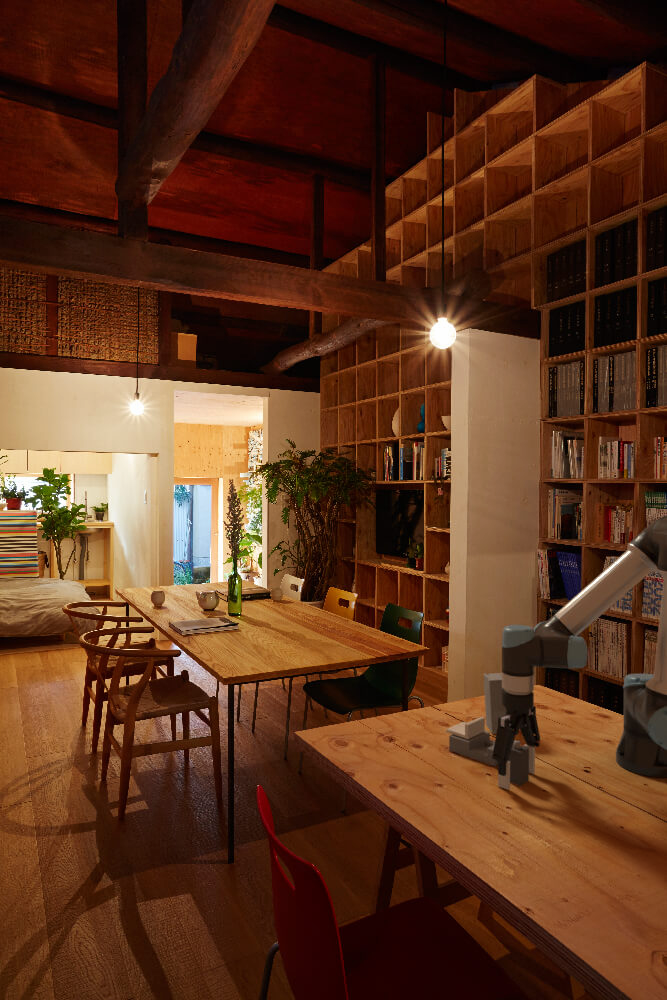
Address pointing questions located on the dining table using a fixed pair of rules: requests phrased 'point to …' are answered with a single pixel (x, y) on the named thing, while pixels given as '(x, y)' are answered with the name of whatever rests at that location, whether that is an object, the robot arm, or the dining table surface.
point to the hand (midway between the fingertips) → (516, 779)
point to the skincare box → (493, 700)
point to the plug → (519, 764)
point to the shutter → (468, 728)
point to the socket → (474, 747)
